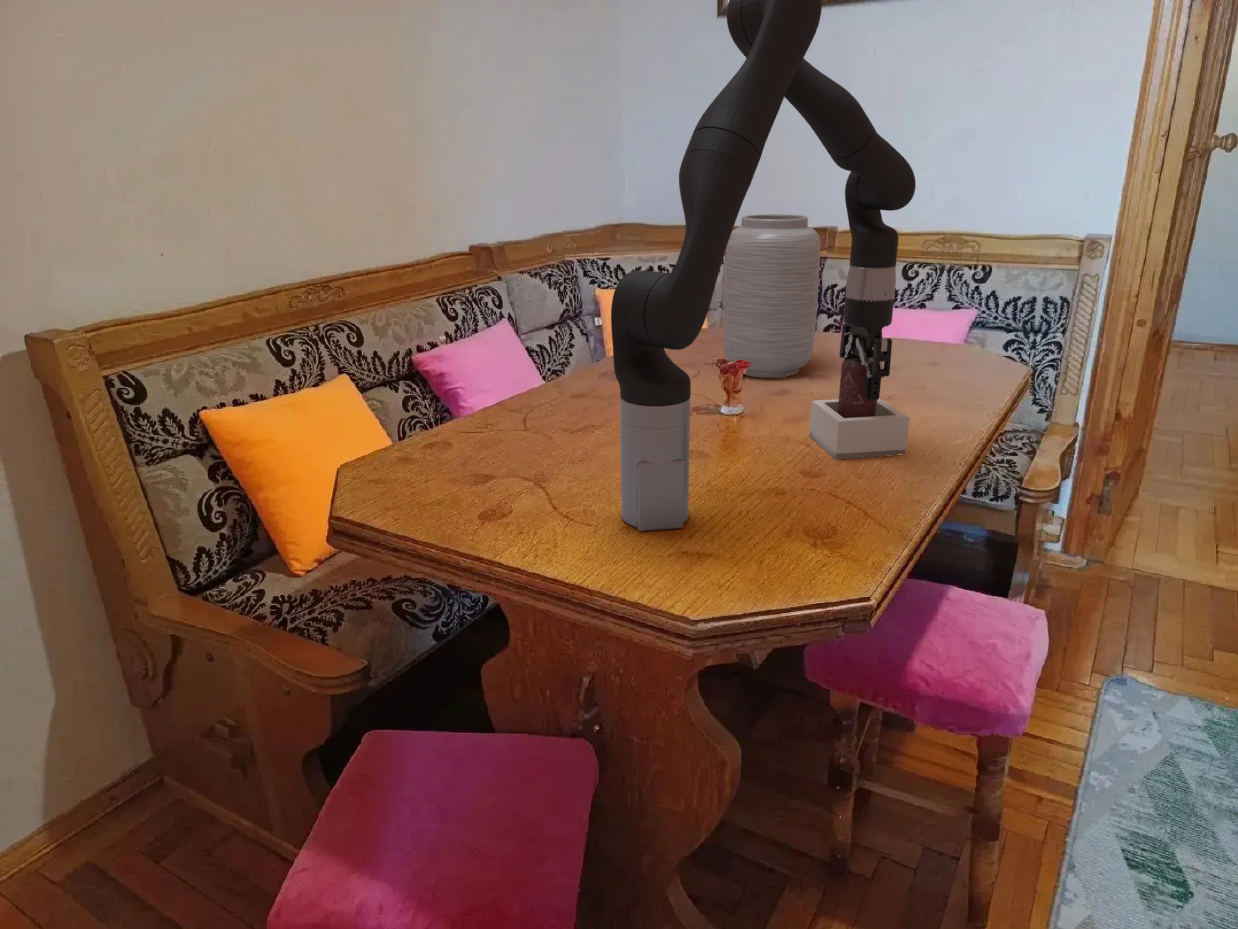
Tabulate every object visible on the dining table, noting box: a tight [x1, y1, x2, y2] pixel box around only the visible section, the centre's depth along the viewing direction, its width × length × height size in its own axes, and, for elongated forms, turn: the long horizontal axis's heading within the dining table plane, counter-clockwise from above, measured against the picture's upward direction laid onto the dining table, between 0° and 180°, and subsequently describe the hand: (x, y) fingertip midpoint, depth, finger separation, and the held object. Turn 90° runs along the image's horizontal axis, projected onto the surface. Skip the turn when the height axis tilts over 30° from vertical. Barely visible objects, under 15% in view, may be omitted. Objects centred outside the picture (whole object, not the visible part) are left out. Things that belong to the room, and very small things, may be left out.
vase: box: [722, 213, 821, 379], centre depth 186 cm, size 20×20×34 cm
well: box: [808, 397, 911, 461], centre depth 142 cm, size 12×12×6 cm
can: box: [838, 356, 877, 418], centre depth 141 cm, size 6×6×14 cm
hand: (860, 392), depth 140 cm, fingers open, 8 cm apart
